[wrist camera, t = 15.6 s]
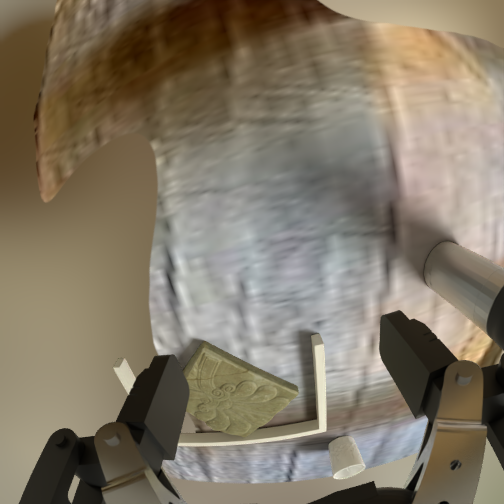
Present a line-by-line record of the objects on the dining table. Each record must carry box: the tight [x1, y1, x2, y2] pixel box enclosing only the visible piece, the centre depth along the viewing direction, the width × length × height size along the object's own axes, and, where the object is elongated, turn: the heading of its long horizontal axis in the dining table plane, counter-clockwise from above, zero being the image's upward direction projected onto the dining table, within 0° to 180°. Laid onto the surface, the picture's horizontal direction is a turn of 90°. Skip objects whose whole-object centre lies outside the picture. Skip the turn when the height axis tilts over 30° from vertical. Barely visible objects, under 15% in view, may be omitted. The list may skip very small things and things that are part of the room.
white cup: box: [328, 436, 365, 479], centre depth 49 cm, size 8×8×10 cm
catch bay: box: [113, 334, 326, 446], centre depth 46 cm, size 37×26×3 cm
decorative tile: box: [183, 341, 299, 437], centre depth 46 cm, size 19×20×4 cm
